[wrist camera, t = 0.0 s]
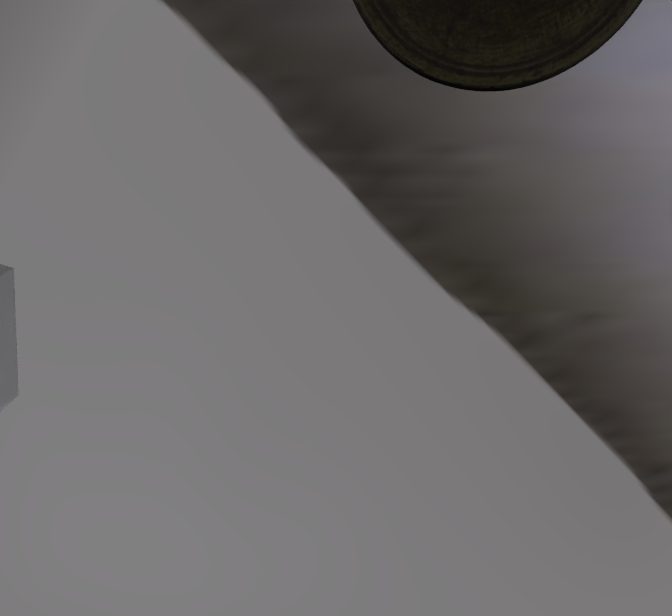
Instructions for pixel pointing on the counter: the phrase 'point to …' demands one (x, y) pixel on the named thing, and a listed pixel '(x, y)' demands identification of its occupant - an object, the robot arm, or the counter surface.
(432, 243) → the counter surface
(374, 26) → the container
